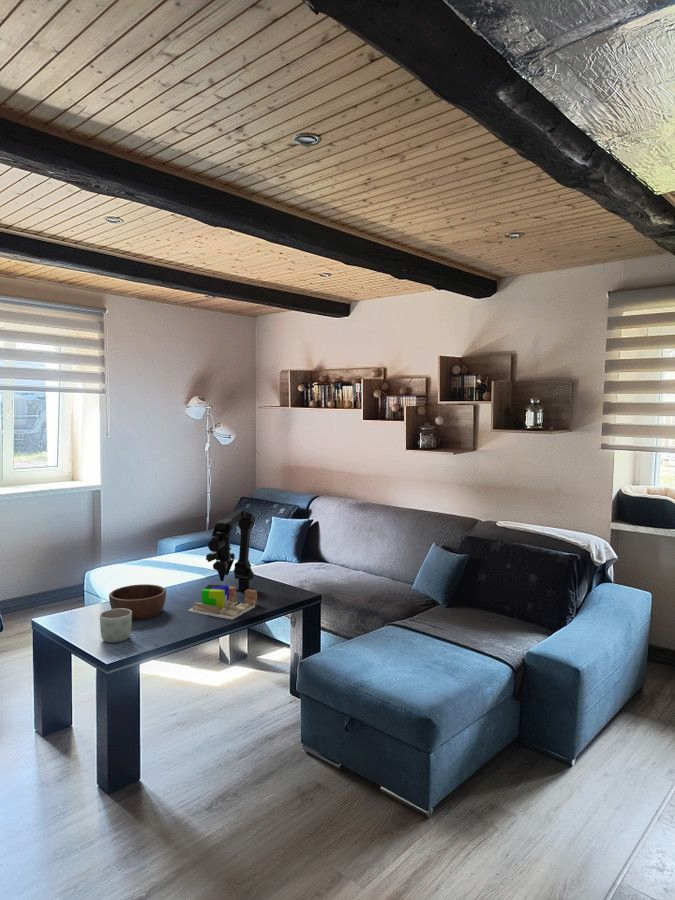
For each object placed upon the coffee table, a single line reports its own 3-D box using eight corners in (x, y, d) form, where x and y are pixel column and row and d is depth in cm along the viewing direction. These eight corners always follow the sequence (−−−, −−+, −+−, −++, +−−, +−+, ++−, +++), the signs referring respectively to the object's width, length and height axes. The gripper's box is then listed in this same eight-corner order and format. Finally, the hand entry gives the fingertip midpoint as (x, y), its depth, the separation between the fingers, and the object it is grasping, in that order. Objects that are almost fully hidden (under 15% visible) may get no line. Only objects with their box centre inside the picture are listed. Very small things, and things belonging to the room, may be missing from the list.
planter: (122, 631, 257) (122, 606, 257) (138, 639, 249) (137, 613, 249) (94, 639, 248) (94, 613, 247) (109, 647, 240) (109, 620, 239)
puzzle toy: (228, 605, 292) (228, 585, 291) (222, 612, 282) (222, 591, 281) (208, 605, 293) (208, 584, 292) (201, 611, 283) (201, 590, 282)
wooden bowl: (110, 607, 288) (110, 586, 287) (165, 603, 296) (165, 582, 295) (107, 625, 264) (107, 602, 264) (167, 620, 272) (167, 597, 271)
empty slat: (248, 603, 296) (248, 589, 295) (256, 604, 294) (256, 590, 293) (223, 616, 277) (223, 601, 276) (232, 618, 275) (232, 603, 274)
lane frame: (213, 600, 300) (213, 598, 300) (255, 607, 290) (255, 605, 290) (188, 611, 283) (188, 609, 283) (232, 619, 273) (232, 617, 273)
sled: (219, 598, 303) (219, 584, 302) (244, 602, 297) (244, 588, 296) (192, 611, 284) (192, 596, 283) (219, 615, 278) (219, 600, 277)
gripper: (212, 541, 304) (213, 572, 306) (201, 551, 286) (202, 583, 287) (234, 542, 303) (235, 572, 305) (225, 552, 285) (225, 584, 286)
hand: (224, 578), depth 296 cm, fingers open, 9 cm apart
